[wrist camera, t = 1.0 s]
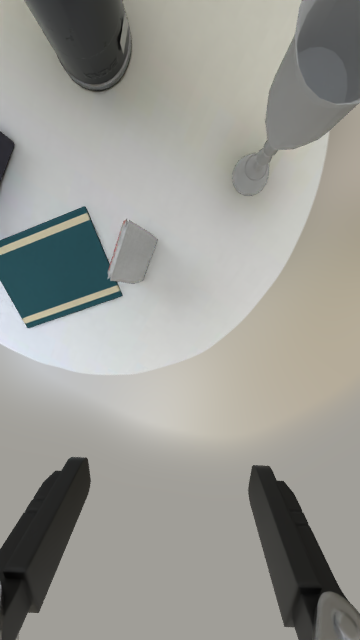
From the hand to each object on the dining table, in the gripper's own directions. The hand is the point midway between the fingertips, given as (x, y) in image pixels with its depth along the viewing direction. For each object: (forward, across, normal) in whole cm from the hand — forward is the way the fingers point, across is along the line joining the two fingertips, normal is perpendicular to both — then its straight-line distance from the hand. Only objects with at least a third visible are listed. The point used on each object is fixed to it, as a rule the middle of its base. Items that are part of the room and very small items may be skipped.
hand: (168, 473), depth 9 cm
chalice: (+25, -9, -22) cm, 35 cm away
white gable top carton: (+25, +7, -11) cm, 28 cm away
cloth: (+25, +20, -8) cm, 33 cm away
